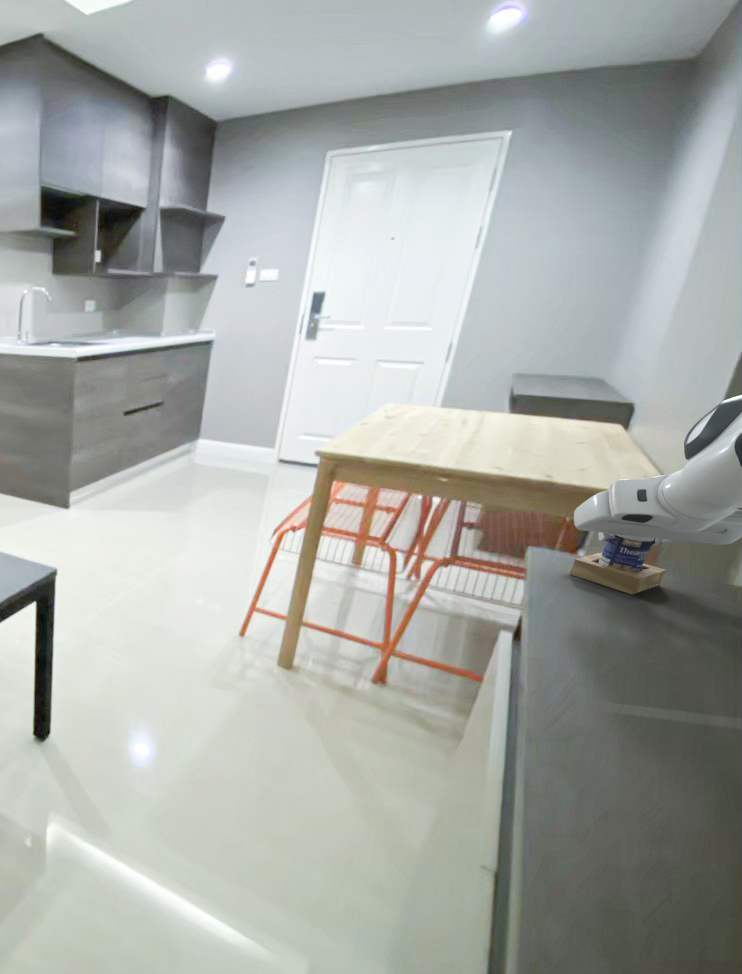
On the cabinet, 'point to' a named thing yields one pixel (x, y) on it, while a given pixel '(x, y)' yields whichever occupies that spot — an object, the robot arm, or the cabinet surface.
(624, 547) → the pill bottle
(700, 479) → the robot arm
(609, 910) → the cabinet surface
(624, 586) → the socket pad
